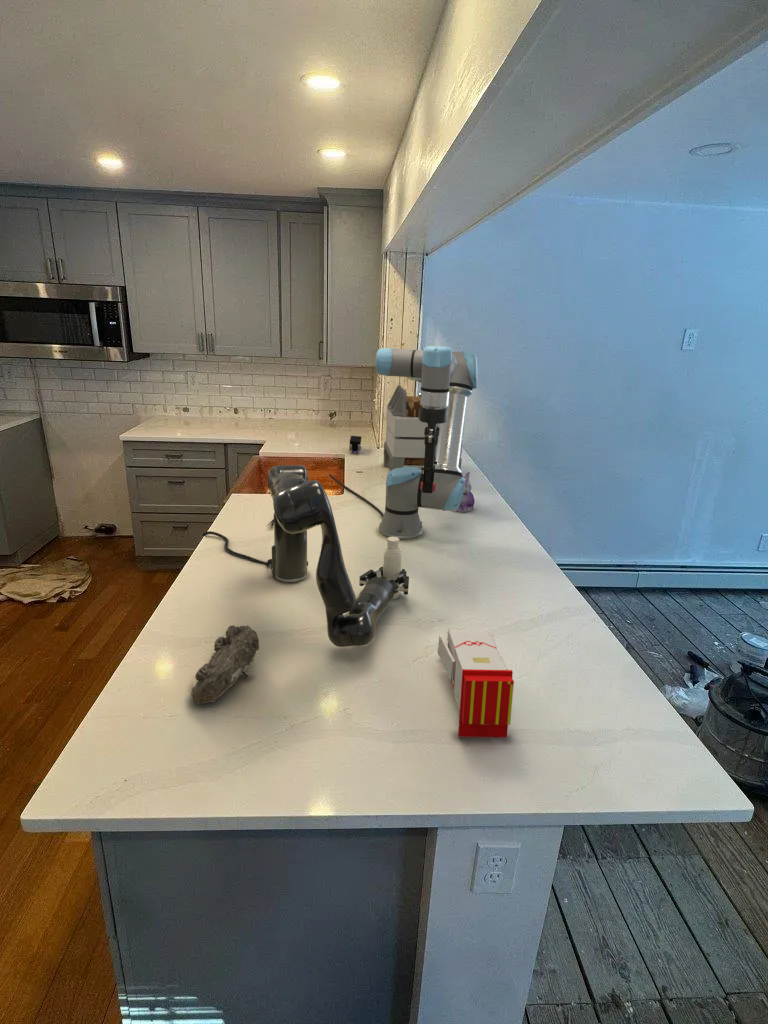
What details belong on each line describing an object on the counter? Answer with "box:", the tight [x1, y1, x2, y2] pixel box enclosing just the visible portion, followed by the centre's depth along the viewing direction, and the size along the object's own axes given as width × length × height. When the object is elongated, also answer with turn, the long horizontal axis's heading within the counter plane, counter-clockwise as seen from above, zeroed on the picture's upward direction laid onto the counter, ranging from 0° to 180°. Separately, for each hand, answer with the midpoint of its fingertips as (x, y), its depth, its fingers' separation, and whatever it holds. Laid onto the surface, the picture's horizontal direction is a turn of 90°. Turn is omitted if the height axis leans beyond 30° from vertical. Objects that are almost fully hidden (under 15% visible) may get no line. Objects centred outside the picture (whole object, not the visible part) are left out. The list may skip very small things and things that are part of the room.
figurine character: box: [348, 435, 363, 455], centre depth 309 cm, size 7×8×15 cm
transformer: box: [383, 384, 465, 472], centre depth 268 cm, size 34×33×41 cm
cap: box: [420, 482, 436, 492], centre depth 159 cm, size 4×4×2 cm
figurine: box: [455, 471, 476, 513], centre depth 225 cm, size 9×10×15 cm
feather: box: [266, 518, 274, 529], centre depth 211 cm, size 2×28×2 cm
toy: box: [437, 628, 515, 738], centre depth 117 cm, size 12×13×30 cm
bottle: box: [382, 537, 403, 600], centre depth 154 cm, size 5×5×17 cm
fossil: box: [191, 624, 260, 705], centre depth 119 cm, size 22×10×15 cm
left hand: (394, 570), depth 157 cm, fingers closed on bottle, 5 cm apart
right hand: (427, 489), depth 159 cm, fingers closed on cap, 4 cm apart
